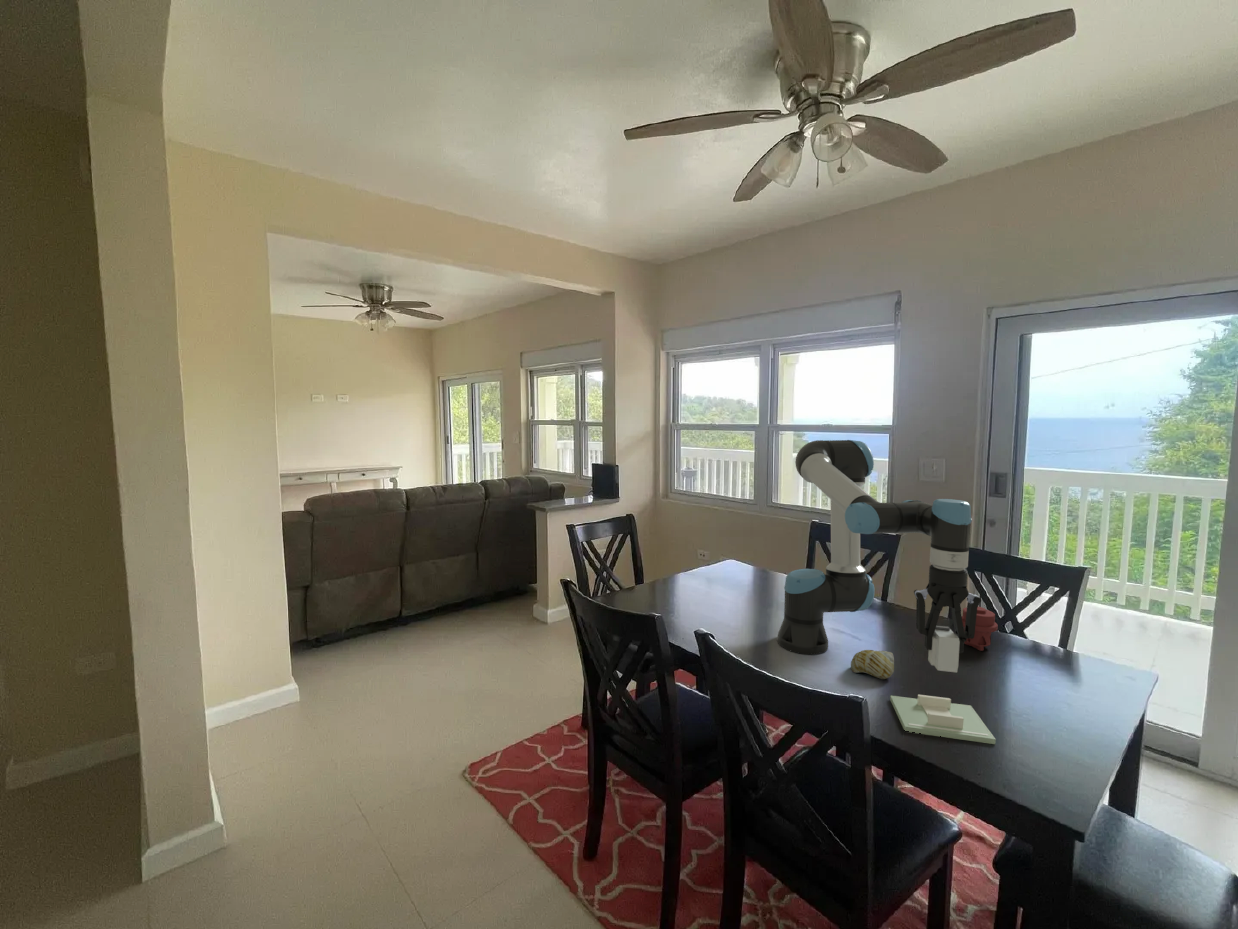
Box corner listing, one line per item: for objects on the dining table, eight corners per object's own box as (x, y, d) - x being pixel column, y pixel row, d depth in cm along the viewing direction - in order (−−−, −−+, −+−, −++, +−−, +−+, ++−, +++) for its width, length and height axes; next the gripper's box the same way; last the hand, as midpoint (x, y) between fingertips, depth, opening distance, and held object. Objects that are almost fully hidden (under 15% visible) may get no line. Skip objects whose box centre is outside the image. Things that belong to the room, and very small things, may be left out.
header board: (904, 731, 120) (905, 716, 120) (890, 700, 134) (890, 686, 133) (995, 744, 115) (996, 728, 115) (970, 710, 129) (971, 696, 129)
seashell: (841, 663, 152) (857, 633, 152) (870, 678, 152) (886, 648, 152) (858, 679, 142) (876, 646, 141) (889, 695, 142) (907, 662, 142)
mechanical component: (986, 641, 169) (1002, 654, 159) (952, 638, 171) (966, 651, 161) (989, 604, 168) (1005, 615, 158) (954, 601, 170) (968, 613, 160)
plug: (937, 670, 121) (939, 634, 120) (929, 659, 126) (931, 624, 126) (957, 672, 120) (959, 636, 119) (948, 661, 125) (949, 626, 125)
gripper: (912, 568, 120) (907, 667, 122) (998, 574, 115) (991, 676, 117) (903, 559, 127) (898, 653, 129) (983, 565, 123) (977, 661, 125)
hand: (942, 664), depth 123 cm, fingers closed on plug, 4 cm apart
